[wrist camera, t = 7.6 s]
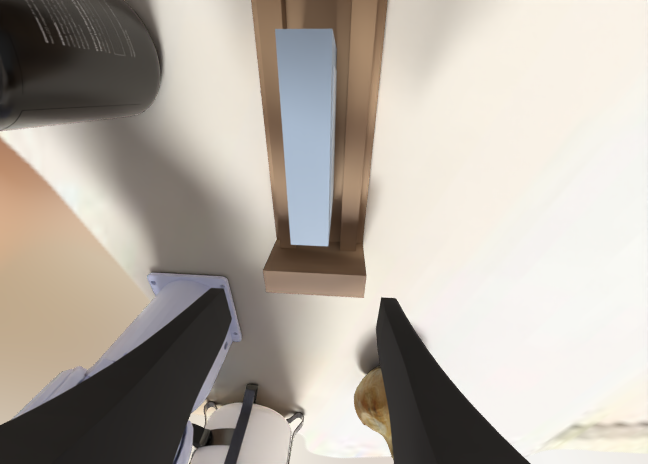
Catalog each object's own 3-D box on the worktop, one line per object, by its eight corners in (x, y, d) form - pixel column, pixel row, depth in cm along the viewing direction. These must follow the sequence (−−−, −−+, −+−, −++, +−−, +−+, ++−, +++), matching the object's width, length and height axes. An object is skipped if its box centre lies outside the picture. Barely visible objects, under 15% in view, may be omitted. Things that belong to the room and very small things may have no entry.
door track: (359, 256, 22) (363, 297, 17) (281, 252, 22) (266, 292, 18) (394, -91, 12) (423, -194, 7) (247, -86, 12) (194, -181, 8)
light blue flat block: (333, 201, 18) (329, 246, 13) (305, 200, 18) (289, 244, 13) (337, 50, 14) (333, 28, 9) (300, 50, 14) (273, 28, 9)
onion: (432, 364, 29) (460, 451, 22) (392, 394, 33) (405, 476, 26) (377, 342, 28) (388, 426, 21) (342, 375, 31) (341, 456, 25)
